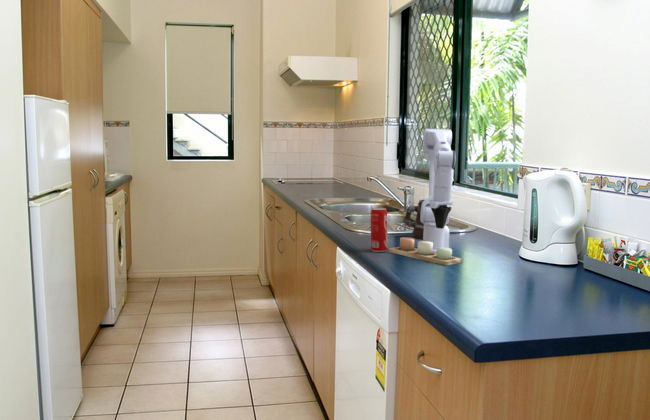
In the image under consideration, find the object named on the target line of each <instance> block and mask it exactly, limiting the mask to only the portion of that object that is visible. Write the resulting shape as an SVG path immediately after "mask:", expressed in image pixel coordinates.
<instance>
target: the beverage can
mask: <svg viewBox="0 0 650 420" xmlns="http://www.w3.org/2000/svg"><path fill="white" fill-rule="evenodd" d="M370 250H371V251H372V252H373V253H375V252H376V253H382V252H383V253H384V252H388V211H387V208H385V207H375V208H373V207H372V208H371V211H370Z"/></svg>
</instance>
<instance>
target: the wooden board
mask: <svg viewBox="0 0 650 420" xmlns="http://www.w3.org/2000/svg"><path fill="white" fill-rule="evenodd" d="M417 250H418V248H416V247H414V250H403V249H400V246H397V247H389V248H388V247H387V252H388V253H392V254H396V255H400V256H405V257H409V258H413V259H417V260H421V261H426V262H430V263H432V264H433V263H434V264H438V265H442V266H451V265H457V264H461V263H464V258H461V257H457V256H452V259H451V260H441V259H437V258H436V252H433V251H432V254H421V253H418V252H417Z"/></svg>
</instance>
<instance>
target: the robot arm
mask: <svg viewBox="0 0 650 420" xmlns="http://www.w3.org/2000/svg"><path fill="white" fill-rule="evenodd" d="M422 140H423V141H422V142H423V153H424V154H425V155H427V156H428V161H429V162H428V163H429V165H428V166H429V170H428V172H429V175H428V177H429V179H428V180H429V182H428V197H427V198H425V199H423V200H424V201H423V202H422V205H421V214H420V220H421V222H422V223H423V224H424V232H423V239H422V241H429V242H433V251H432V252H435V253H436V250H437V248H449V249H451V247H449V244H450V229H449V227H448V226H447V225H448V224H449V223H450V212H451V211H452V206H453V204H454V199H453V198H452V187H453V173H454V172H453V171H454V168H455V166H456V165H455V164H456V150H452V148H451V145H452V140H453V132H452V130H451V129H450V128H449V129H440V128H439V129H437V128H436V129H435V128H425V129H424V130H423V139H422ZM417 249H418V246H417Z"/></svg>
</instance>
